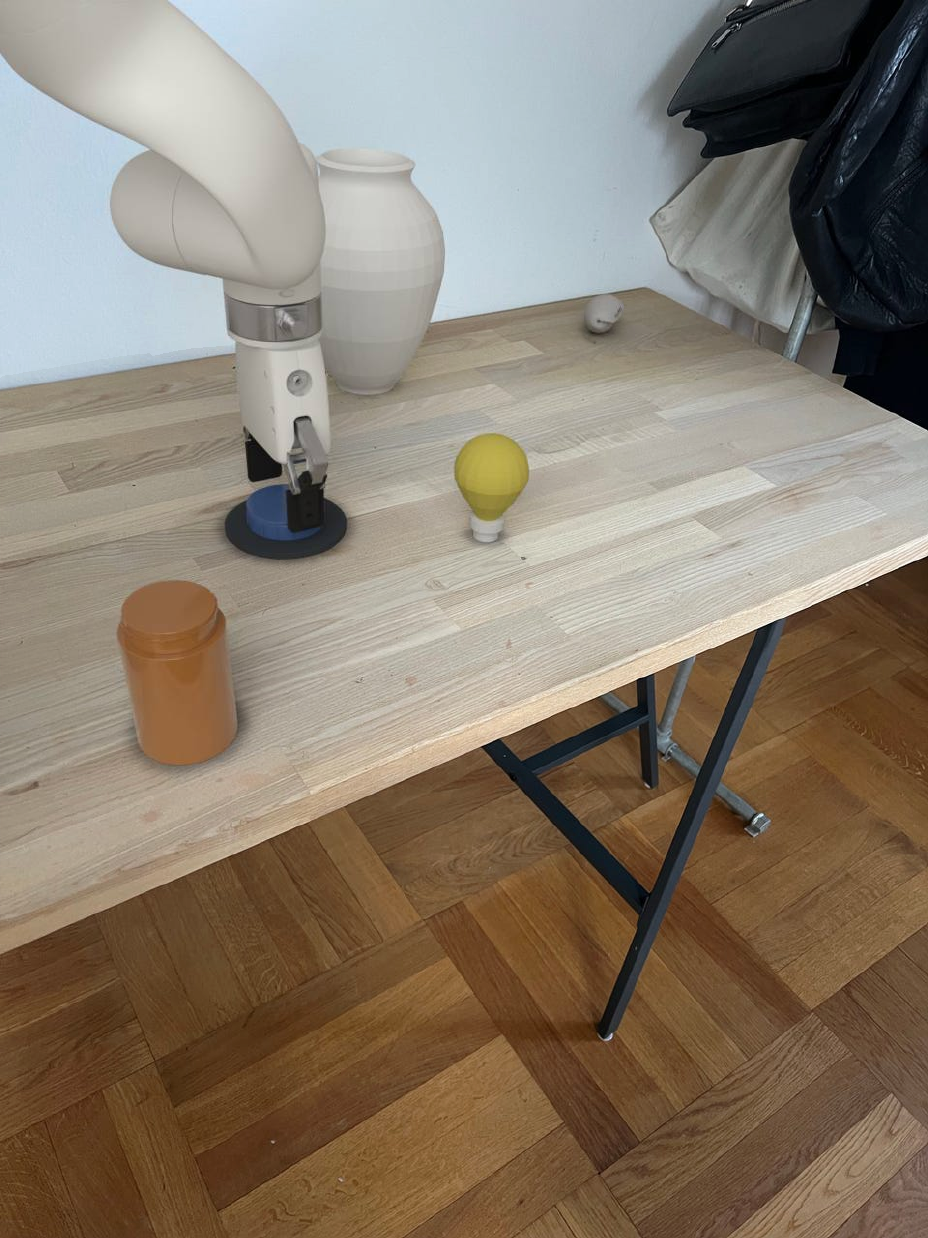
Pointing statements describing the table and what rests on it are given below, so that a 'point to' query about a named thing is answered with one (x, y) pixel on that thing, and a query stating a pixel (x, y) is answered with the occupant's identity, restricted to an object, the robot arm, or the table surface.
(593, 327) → the stone
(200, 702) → the jar
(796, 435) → the table surface
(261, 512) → the lid
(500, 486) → the light bulb
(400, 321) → the vase
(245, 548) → the coaster
